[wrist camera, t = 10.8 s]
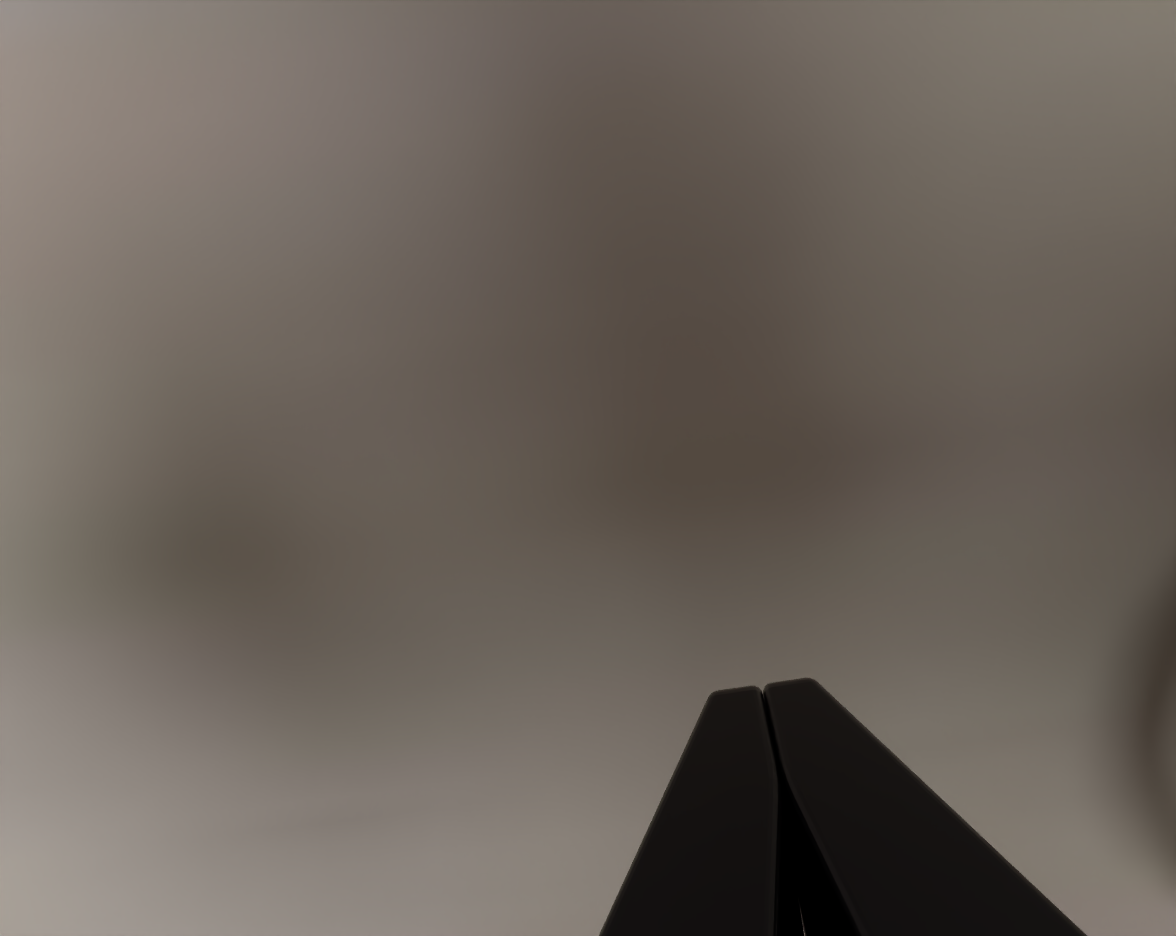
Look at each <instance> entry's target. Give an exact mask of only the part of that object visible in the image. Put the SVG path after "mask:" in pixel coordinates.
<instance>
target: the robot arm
mask: <svg viewBox="0 0 1176 936" xmlns="http://www.w3.org/2000/svg"><path fill="white" fill-rule="evenodd" d="M802 922H803V924H802ZM803 928H804V931H803ZM804 933H805V936H1087V935H1086V934H1085V933H1084V932H1083V931H1082V930H1080V929H1079V928H1078V927H1077V926H1076V925H1075V924H1074V923H1073V922H1072V921H1071V920H1070V919H1069V918H1068V917H1067V916H1066V915H1065V914H1063V913H1062V912H1061V911H1060V910H1059V909H1058V908H1057V907H1056V906H1055V905H1054V904H1053V903H1052V902H1051V901H1050V900H1049V899H1048V898H1046V897H1045V896H1044V895H1043V894H1042V893H1041V892H1040V891H1039V890H1038V889H1037V888H1036V887H1035V886H1034V885H1033V884H1032V883H1031V882H1029V881H1028V880H1027V879H1026V878H1025V877H1024V876H1023V875H1022V874H1021V873H1020V872H1019V871H1018V870H1017V869H1016V868H1015V867H1014V866H1012V865H1011V864H1010V863H1009V862H1008V861H1007V860H1006V859H1005V858H1004V857H1003V856H1002V855H1001V854H1000V853H999V852H998V851H997V850H995V849H994V848H993V847H992V846H991V845H990V844H989V843H988V842H987V841H986V840H985V839H984V838H983V837H982V836H981V835H979V834H978V833H977V832H976V831H975V830H974V829H973V828H972V827H971V826H970V825H969V824H968V823H967V822H966V821H965V820H964V819H962V818H961V817H960V816H959V815H958V814H957V813H956V812H955V811H954V810H953V809H952V808H951V807H950V806H949V805H948V804H947V803H945V802H944V801H943V800H942V799H941V798H940V797H939V796H938V795H937V794H936V793H935V792H934V791H933V790H932V789H931V788H930V787H928V786H927V785H926V784H925V783H924V782H923V781H922V780H921V779H920V778H919V777H918V776H917V775H916V774H915V773H914V772H913V771H911V770H910V769H909V768H908V767H907V766H906V765H905V764H904V763H903V762H902V761H901V760H900V759H899V758H898V757H897V756H896V755H894V754H893V753H892V752H891V751H890V750H889V749H888V748H887V747H886V746H885V745H884V744H883V743H882V742H881V741H880V740H879V739H877V738H876V737H875V736H874V735H873V734H872V733H871V732H870V731H869V730H868V729H867V728H866V727H865V726H864V725H863V724H862V723H860V722H859V721H858V720H857V719H856V718H855V717H854V716H853V715H852V714H851V713H850V712H849V711H848V710H847V709H846V708H844V707H843V706H842V705H841V704H840V703H839V702H838V701H837V700H836V699H835V698H834V697H833V696H832V695H831V694H830V693H829V692H827V691H826V690H825V689H824V688H823V687H822V686H821V685H820V684H819V683H818V682H817V681H816V680H814V679H811V678H801V679H794V680H787V681H780V682H773V683H769V684H767V685H766V686H765V687H764V690H763V694H762V691H761V690H760V689H759V687H756V686H746V687H739V688H732V689H725V690H718V691H715V692H713V693H711V694H710V695H709V697H708V699H707V701H706V703H705V705H704V707H703V710H702V712H701V714H700V716H699V718H698V720H697V723H696V725H695V727H694V729H693V731H692V734H691V736H690V738H689V740H688V742H687V744H686V747H685V749H684V751H683V753H682V755H681V758H680V760H679V762H678V764H677V766H676V768H675V771H674V773H673V775H672V777H671V779H670V782H669V784H668V786H667V788H666V790H665V792H664V795H663V797H662V799H661V801H660V803H659V806H658V808H657V810H656V812H655V814H654V816H653V819H652V821H651V823H650V825H649V827H648V830H647V832H646V834H645V836H644V838H643V840H642V843H641V845H640V847H639V849H638V851H637V854H636V856H635V858H634V860H633V862H632V864H631V867H630V869H629V871H628V873H627V875H626V878H625V880H624V882H623V884H622V886H621V888H620V891H619V893H618V895H617V897H616V899H615V902H614V904H613V906H612V908H611V910H610V912H609V915H608V917H607V919H606V921H605V923H604V926H603V928H602V930H601V932H600V934H599V936H804Z"/></svg>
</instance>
